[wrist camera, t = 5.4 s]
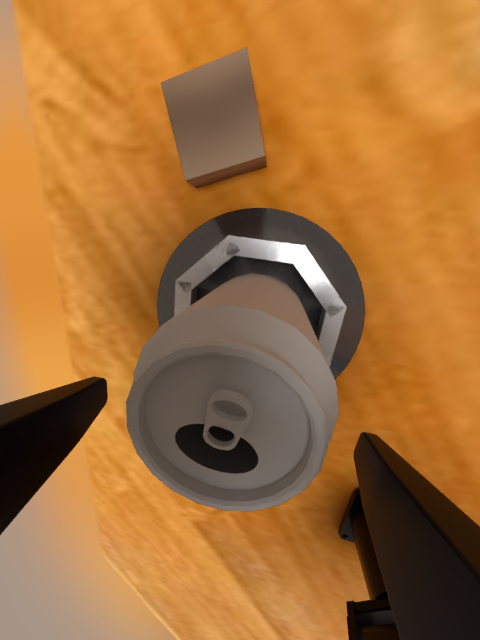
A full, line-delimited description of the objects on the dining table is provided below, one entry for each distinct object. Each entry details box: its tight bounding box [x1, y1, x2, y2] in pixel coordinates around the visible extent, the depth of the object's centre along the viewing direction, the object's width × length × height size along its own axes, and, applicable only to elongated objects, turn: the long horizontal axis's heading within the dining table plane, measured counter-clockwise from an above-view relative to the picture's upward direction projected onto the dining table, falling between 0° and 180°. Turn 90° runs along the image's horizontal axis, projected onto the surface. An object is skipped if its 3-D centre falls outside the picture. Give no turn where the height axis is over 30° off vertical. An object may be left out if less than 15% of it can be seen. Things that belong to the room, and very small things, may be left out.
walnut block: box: [161, 47, 266, 187], centre depth 14 cm, size 5×5×2 cm
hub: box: [157, 208, 365, 379], centre depth 18 cm, size 16×16×2 cm
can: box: [126, 273, 339, 511], centre depth 13 cm, size 8×8×12 cm
